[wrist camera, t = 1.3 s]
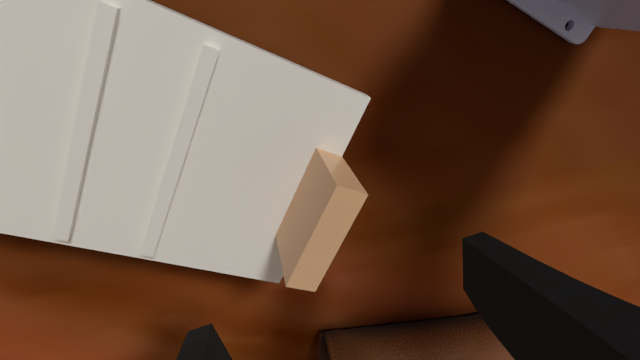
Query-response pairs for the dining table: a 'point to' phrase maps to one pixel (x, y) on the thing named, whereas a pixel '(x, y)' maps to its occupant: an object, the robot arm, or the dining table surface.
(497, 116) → the dining table surface
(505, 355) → the sunglasses case
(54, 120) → the lid
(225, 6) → the dining table surface
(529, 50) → the dining table surface
